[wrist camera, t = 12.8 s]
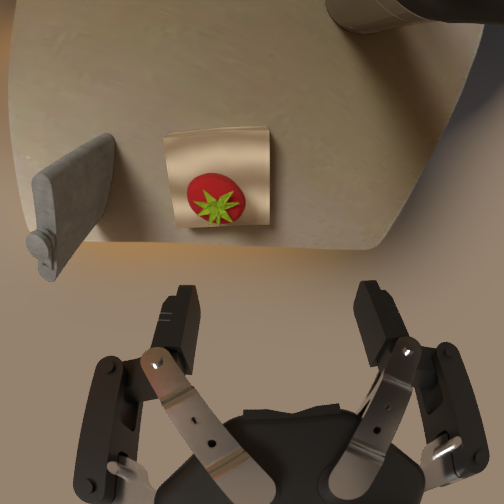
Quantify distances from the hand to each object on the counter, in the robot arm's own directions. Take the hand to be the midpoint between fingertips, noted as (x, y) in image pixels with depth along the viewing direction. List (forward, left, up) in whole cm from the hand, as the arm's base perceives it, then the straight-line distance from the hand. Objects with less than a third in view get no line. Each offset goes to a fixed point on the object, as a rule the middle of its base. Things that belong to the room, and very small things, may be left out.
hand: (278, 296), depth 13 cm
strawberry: (+5, -5, -27) cm, 28 cm away
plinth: (+5, -6, -31) cm, 32 cm away
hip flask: (+4, -26, -31) cm, 40 cm away
